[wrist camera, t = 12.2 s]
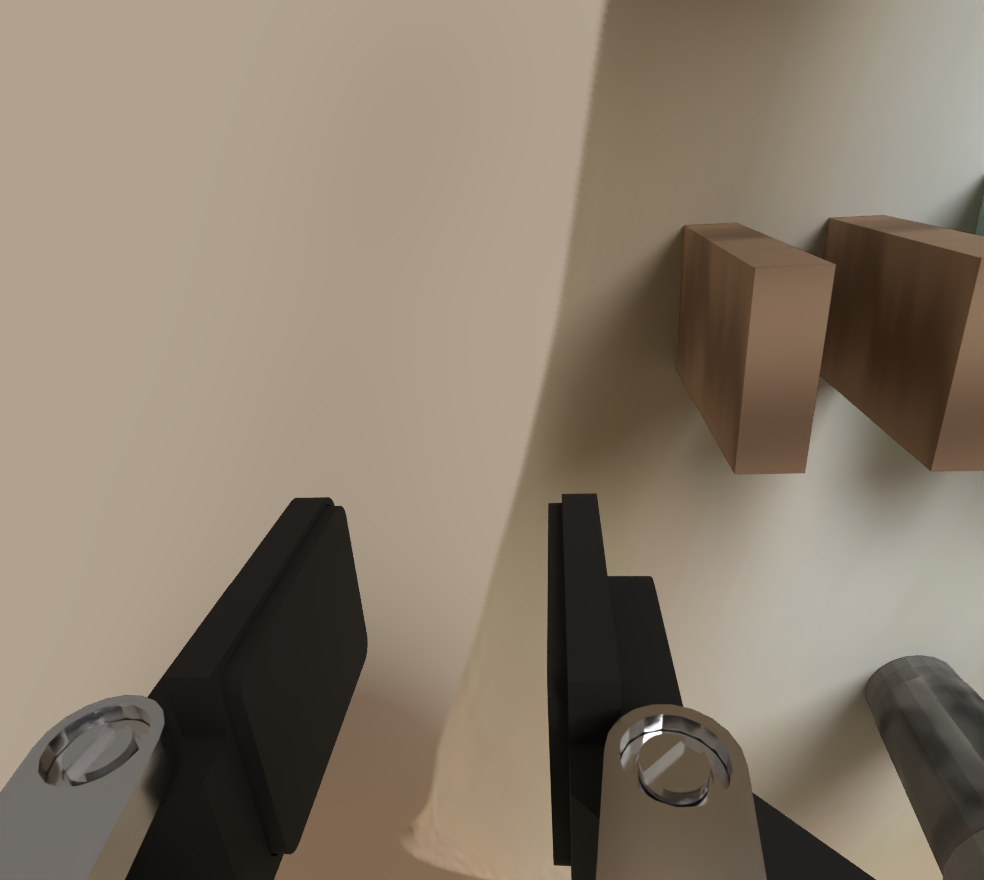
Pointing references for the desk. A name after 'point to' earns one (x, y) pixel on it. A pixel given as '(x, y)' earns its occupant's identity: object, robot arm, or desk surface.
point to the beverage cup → (936, 755)
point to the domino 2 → (910, 334)
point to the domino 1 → (753, 342)
